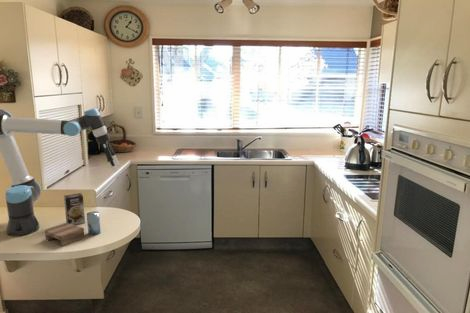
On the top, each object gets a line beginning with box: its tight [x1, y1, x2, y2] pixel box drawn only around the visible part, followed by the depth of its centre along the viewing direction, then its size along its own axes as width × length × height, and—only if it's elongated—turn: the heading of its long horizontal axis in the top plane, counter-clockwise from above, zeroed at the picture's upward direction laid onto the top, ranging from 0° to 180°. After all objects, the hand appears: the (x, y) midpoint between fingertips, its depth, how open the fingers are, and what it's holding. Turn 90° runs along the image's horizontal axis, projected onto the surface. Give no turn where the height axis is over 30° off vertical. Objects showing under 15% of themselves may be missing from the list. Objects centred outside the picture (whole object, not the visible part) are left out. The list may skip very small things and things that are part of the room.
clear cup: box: [86, 210, 102, 237], centre depth 186 cm, size 6×6×11 cm
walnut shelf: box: [44, 222, 85, 247], centre depth 180 cm, size 14×12×5 cm
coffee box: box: [63, 192, 86, 226], centre depth 199 cm, size 9×6×16 cm
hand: (116, 168), depth 210 cm, fingers open, 13 cm apart
